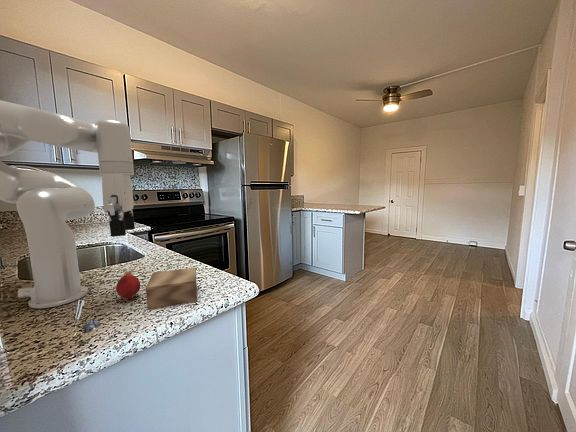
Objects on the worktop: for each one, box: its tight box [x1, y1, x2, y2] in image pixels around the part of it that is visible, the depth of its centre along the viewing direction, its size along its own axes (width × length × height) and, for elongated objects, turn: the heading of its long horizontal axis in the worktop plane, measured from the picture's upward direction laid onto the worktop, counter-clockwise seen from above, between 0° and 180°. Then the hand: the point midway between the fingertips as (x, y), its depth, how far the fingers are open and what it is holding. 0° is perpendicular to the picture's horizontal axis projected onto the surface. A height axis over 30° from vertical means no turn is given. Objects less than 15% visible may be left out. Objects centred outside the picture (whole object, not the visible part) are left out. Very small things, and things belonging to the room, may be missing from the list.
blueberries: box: [71, 319, 101, 334], centre depth 56 cm, size 7×8×2 cm
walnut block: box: [145, 266, 198, 311], centre depth 71 cm, size 12×12×6 cm
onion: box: [115, 271, 141, 300], centre depth 69 cm, size 6×6×8 cm
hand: (123, 232), depth 68 cm, fingers open, 9 cm apart
